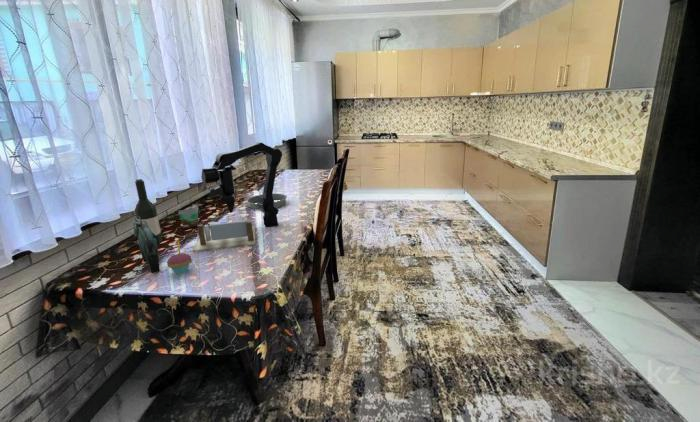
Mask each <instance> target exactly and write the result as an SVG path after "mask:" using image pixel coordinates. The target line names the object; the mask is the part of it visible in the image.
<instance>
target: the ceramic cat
mask: <svg viewBox="0 0 700 422" xmlns="http://www.w3.org/2000/svg"><path fill="white" fill-rule="evenodd" d="M134 219H135V220H134V221H135V222H133V223H132V224H133V235H134V237H135V238H137V239H138V246H139V250H140V255H141V258H142V261H143V262H144V263H145V262H147V265H148V269H149V271H150V273H151V274H152V273H153V274H155V273H154V272H156V273H160V272H159V271H161V269H160V259H159V249H158V248H159V247H158V244H157V240H156V237H155V234H154V233H153V232H152V231H151V230H150V228H149V226H148V224H147V222H146V221H145V220H143V221H141V217H140V216H139V219H140V221H139V220H137V218H134Z"/></svg>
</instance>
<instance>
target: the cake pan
mask: <svg viewBox="0 0 700 422" xmlns="http://www.w3.org/2000/svg"><path fill="white" fill-rule="evenodd" d="M261 195H262V194H258V195H254V196H251V197H249V198H248V199H246V203H248V205H249V208H250V209H253V210H257V209H258V210H259V211H260V209H259V208H258V204H255V203H257V202H258V196H261ZM272 196H273V200H280V201H277V202H274V207H275V208H277V207H278V208H280V206H281V207H283V206H284V205H285V204H286V199H287V198H288V196H287V195H285V194H283V193H273V194H272ZM282 205H283V206H282ZM278 208H277V209H278Z"/></svg>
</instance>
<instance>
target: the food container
mask: <svg viewBox="0 0 700 422" xmlns="http://www.w3.org/2000/svg"><path fill="white" fill-rule="evenodd" d="M199 210H200V208H199V207H198V205H197V204H194V203H193V204H191V206H189V207H185V208H184V209H183V210H182V209H180V210H178V211H177V212H178V215H179V218H180V221H181V225H182V228H183V229H189V228H190V229H191V228H195V227H197V226H198V225H200V224H199V212H198V211H199Z"/></svg>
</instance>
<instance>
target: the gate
mask: <svg viewBox="0 0 700 422" xmlns="http://www.w3.org/2000/svg"><path fill="white" fill-rule="evenodd" d="M246 221H247V220H241V221H231V222H223V223H212V224H205V225H204V224H203V228H204V232H205V235H206V241H211V237H212V241H213V240H221V239H229V238H238V237H246V236H247V228H246V223H245V222H246ZM210 231H211V236H210Z"/></svg>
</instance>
